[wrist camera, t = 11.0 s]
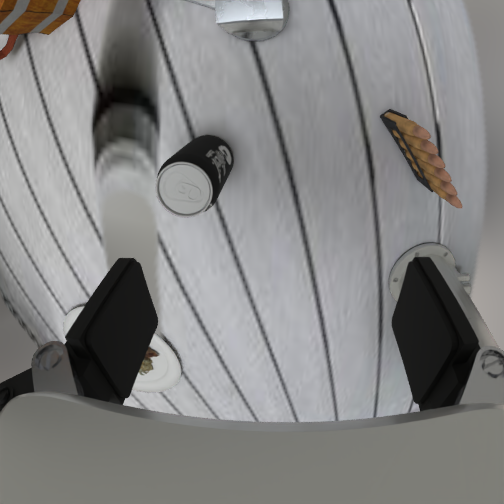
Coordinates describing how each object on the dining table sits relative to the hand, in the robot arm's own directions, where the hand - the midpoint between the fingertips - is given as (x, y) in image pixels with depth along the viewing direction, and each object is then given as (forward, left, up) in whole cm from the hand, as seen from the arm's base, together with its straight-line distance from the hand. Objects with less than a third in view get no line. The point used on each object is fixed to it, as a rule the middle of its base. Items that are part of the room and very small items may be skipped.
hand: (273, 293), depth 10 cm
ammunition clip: (-17, +1, -31) cm, 35 cm away
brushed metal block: (+2, -16, -28) cm, 32 cm away
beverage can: (+9, +3, -31) cm, 32 cm away
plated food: (+36, +44, -31) cm, 65 cm away
